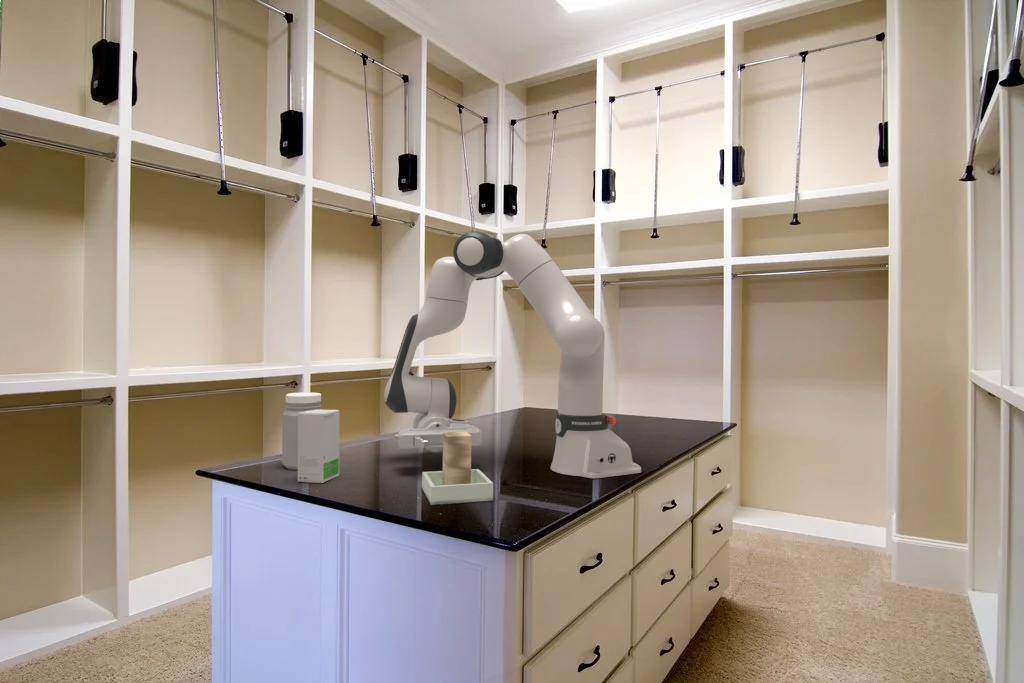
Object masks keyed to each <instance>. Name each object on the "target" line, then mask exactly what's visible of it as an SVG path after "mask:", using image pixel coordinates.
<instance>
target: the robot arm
mask: <svg viewBox="0 0 1024 683" xmlns="http://www.w3.org/2000/svg"><path fill="white" fill-rule="evenodd" d="M452 253H453V255H452V256H444V257H441V258H439V259H437V260H436V261H435V262H434V263H433V266H432V268H431V271H430V275H429V279H428V283H427V288H426V294H425V295H426V296H425V300H424V304H423V305H422V308H421V309H420V311H419V312H418V313H416V314H413V315H412V316H411V317H410V319H409V321H408V323H407V326H406V328H405V331H404V334H403V337H402V340H401V343H400V346H399V349H398V352H397V356H396V359H395V362H394V365H393V368H392V371H391V373H390V374H391V375H390V376H389V379H388V381H387V383H386V386H385V388H384V392H383V393H384V394H383V396H384V404H385V405H386V406H387V408H388V409H389V410H391V411H392V412H393V413H394V414H400V413H401V414H406V413H415V414H416V415H415V417H414V418H413V422H412V428H406V429H405V428H403V429H401V430H399V431H398V433H397V434H396V433H395V434H394V439H395V440H397V442H398V443H397V444H398V445H397V447H398V448H399V449H402V450H404V449H405V450H407V449H408V450H409V449H425V450H426V451H429V452H432V453H439V452H443V433H446V432H467V433H468V434H470V435H471V447H480V446H482V441H483V440H482V439H483V434H482V430H481V429H480V428H479V427H477V426H476V425H473V424H470V421H469V420H466V419H456V418H454V419H453V417H454V415H455V412H456V408H457V392H456V388H455V387H454V385H453V383H451V381H450V380H449V379H448V378H442V377H429V376H417V375H411V374H409V373H410V370H411V367H412V365H413V364H412V363H413V360H414V357H415V354H416V351H417V348H418V346H419V345H420V344H421V343H422V342H423V341H425V340H427V339H429V338H432V337H435V336H439V335H440V336H441V335H444V334H447V333H450V332H453V331H454V330H456V329H457V328H459V327H460V326H461V325H462V324H463V322H464V321H465V319H466V318H465V317H466V313H467V310H468V309H467V308H468V303H469V294H470V290H471V286H472V284H473V282H474V281H482V280H487V279H494V278H497V277H499V276H501V275H502V274H504V273H505V272H506V274H508V275H509V277H511V279H512V280H513V282H514V283H515V285H516V286H517V287H518V289H519V290H520V291H521V293H522V294H523V296H524V297H525V298H526V300H527V301H528V302H529V304H530V305H531V307H532V308H533V310H534V311H535V312H536V314H537V315H538V318H540V320H541V321H542V323H543V325H544V327H545V328H546V329H547V331H548V332H549V334H550V336H551V337H552V339H553V340H554V342H555V343H556V345H557V346H558V347H559V349H560V362H559V363H560V364H559V375H558V385H557V386H558V388H557V390H558V392H557V394H558V395H557V396H558V397H557V412H556V413H555V416H556V417H555V435H556V441H555V447H554V448H555V449H554V453H553V458H552V462H551V465H550V467H549V468H550V470H551V471H553V472H555V473H557V474H562V475H567V476H576V477H583V478H588V479H601V478H610V477H615V476H616V477H617V476H624V475H633V474H639V473H642V467H641V466H640V465H639V464H637V463H636V462H634V461H633V454H632V450H631V447H630V446H629V444H628V443H627V442H626V441H625V440H623V439H622V438H621V437H620V436H618V435H617V434H616V433H615V432H613V431H612V430H611V429H610V426H609V425H612V426H614V425H616V424H617V421H618V420H617V418H616V416H612V415H606V414H604V413H603V406H604V405H603V401H604V400H603V398H604V396H603V394H604V391H603V390H604V388H603V386H604V384H603V383H604V366H605V365H604V363H605V361H604V360H605V335H606V334H605V330H604V327H603V325H602V323H601V322H600V321H599V320H598V319H597V318H596V317H595V316H594V315H593V313H592V312H591V310H590V309H589V308H588V306H587V305H586V303H585V302H584V300H583V299H582V297H580V295H579V293H578V292H577V291H576V290H575V288H574V286H573V285H572V284H571V282H570V281H569V279H568V278H567V277H566V276H565V275H564V273H563V272H562V270H561V269H560V268H559V267H558V265H557V264H556V262H555V261H554V259H553V258H552V257H551V255H550V254H549V253H548V252H547V251H546V249H544V247H543V246H541V244H539V243H538V241H536V239H534V238H533V237H532V236H531V235H529V234H526V233H519V234H516V235H514V236H512V237H510V238H508V239H507V240H506V241H501V240H500V239H499V238H497V237H494V236H493V235H491V234H489V233H485V232H483V231H477V230H474V231H469V232H465V233H463V234H461V236H459V237H458V239H457V240H456V241H455V243H454V245H453V252H452Z"/></svg>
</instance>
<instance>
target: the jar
mask: <svg viewBox="0 0 1024 683" xmlns="http://www.w3.org/2000/svg"><path fill="white" fill-rule="evenodd" d="M321 401H322V393H320V392H310V391H307V392H291V393H287V394H285V403H287V404H286V405H285V410H284V412H283V413H282V423H281V424H282V429H281V430H282V431H281V432H282V433H281V434H282V437H281V440H282V441H281V442H282V443H281V445H282V447H281V448H282V450H281V451H282V452H281V456H282V458H281V464H282V465H283V466H284V467H285V468H286V469H288V470H293V471H294V470H296V471H298V413H299V412H304V411H310V410H323V409H322V408H321V407H322V404H320V403H321Z"/></svg>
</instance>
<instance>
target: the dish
mask: <svg viewBox="0 0 1024 683" xmlns="http://www.w3.org/2000/svg"><path fill="white" fill-rule="evenodd" d="M421 473H422V474H421V489H422V491H423V493H424V494H425V496H426V498H427V500H428V502H429V504H430V505H432V506H434V505H446V504H447V505H449V504H450V505H451V504H462V503H463V504H464V503H475V502H477V503H478V502H491V501H494V482H493V481H492V480H490V478H488V477H487V475H485V473H484V472H482V470H480V469H479V468H474V469H473V468H471V484H456V485H442V482H443V470H437V471H435V470H434V471H422V472H421Z"/></svg>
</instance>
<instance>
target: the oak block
mask: <svg viewBox="0 0 1024 683" xmlns="http://www.w3.org/2000/svg"><path fill="white" fill-rule="evenodd" d="M471 469H472V446H471V435H470V434H468V433H467V432H446V433H443V451H442V471H443V482H442V485H456V484H471Z"/></svg>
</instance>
